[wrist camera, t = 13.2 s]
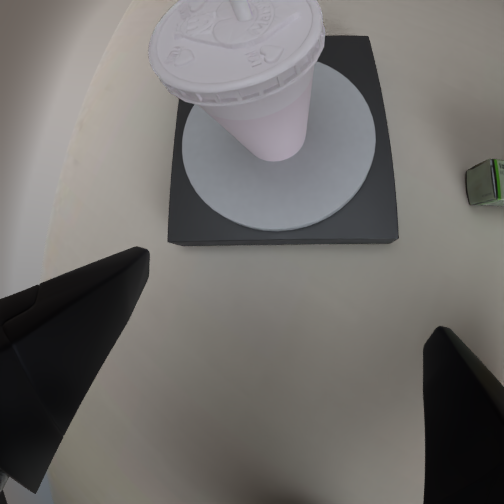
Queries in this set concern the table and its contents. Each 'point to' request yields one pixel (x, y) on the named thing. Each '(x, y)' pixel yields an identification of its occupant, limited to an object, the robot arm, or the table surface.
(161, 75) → the smoothie
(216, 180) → the scale
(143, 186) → the table surface
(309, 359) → the table surface
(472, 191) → the medication box
